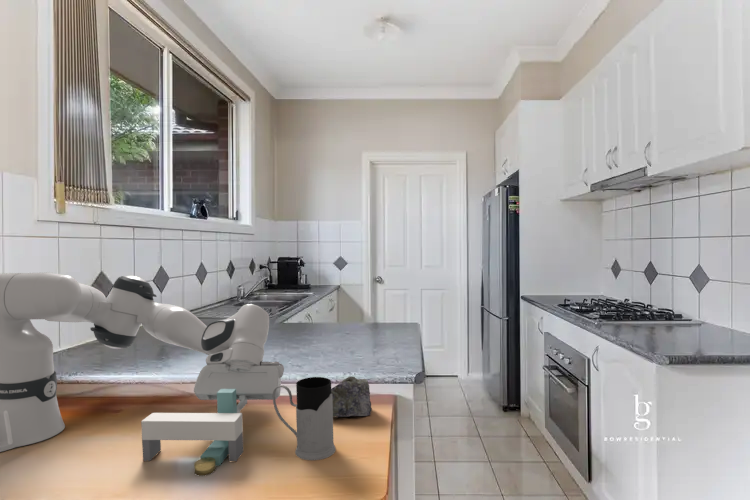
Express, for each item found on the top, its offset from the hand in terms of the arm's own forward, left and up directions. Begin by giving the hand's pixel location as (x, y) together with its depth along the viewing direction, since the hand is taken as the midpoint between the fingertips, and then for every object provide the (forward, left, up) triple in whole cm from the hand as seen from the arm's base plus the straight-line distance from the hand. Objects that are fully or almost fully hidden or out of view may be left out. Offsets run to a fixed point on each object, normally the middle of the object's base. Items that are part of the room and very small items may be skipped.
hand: (231, 416), depth 109 cm
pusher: (0, -6, -5) cm, 8 cm away
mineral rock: (+25, +15, -6) cm, 29 cm away
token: (0, -14, -5) cm, 15 cm away
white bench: (-5, -8, -5) cm, 11 cm away
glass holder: (+18, -4, -6) cm, 19 cm away
